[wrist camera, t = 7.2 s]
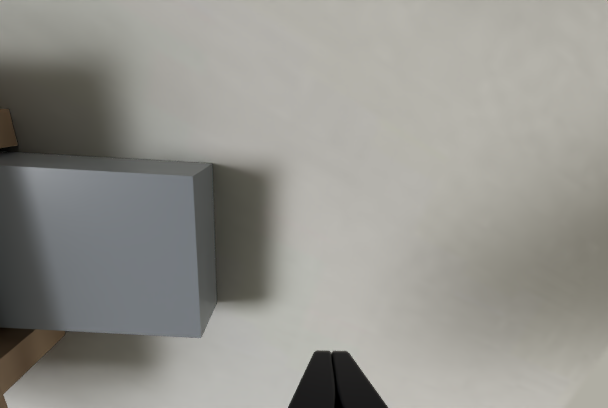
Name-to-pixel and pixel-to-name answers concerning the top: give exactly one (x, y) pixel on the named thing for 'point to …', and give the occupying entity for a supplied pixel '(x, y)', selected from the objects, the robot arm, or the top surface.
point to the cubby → (15, 341)
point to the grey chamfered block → (106, 244)
